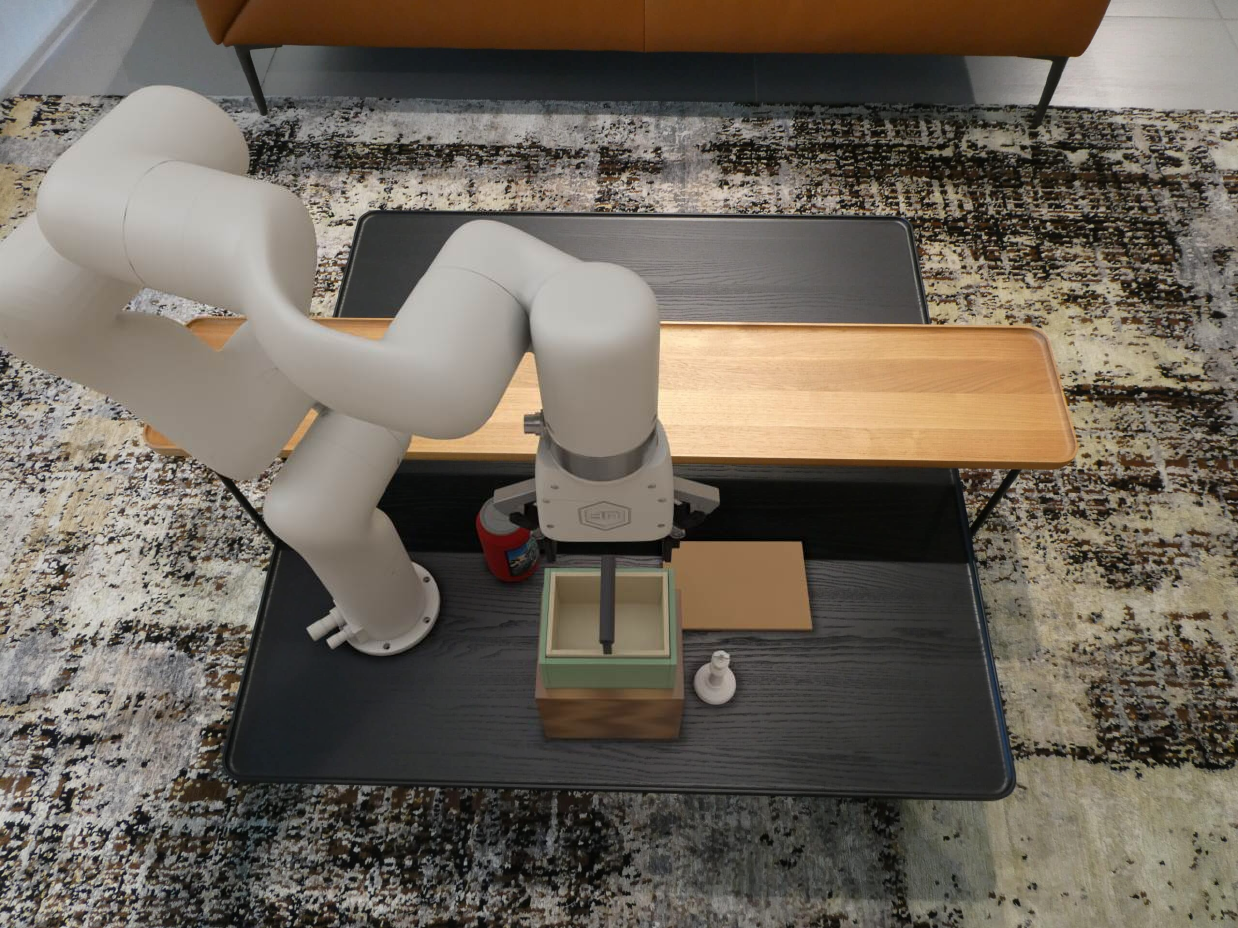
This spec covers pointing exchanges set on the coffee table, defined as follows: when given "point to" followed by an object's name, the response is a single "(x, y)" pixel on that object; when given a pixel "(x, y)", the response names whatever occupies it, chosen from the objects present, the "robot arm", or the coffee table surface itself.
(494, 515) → the beverage can
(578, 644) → the cream bin
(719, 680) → the chess piece
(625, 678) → the green bin
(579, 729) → the wooden block
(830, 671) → the coffee table surface
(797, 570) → the cork mat
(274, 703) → the coffee table surface
